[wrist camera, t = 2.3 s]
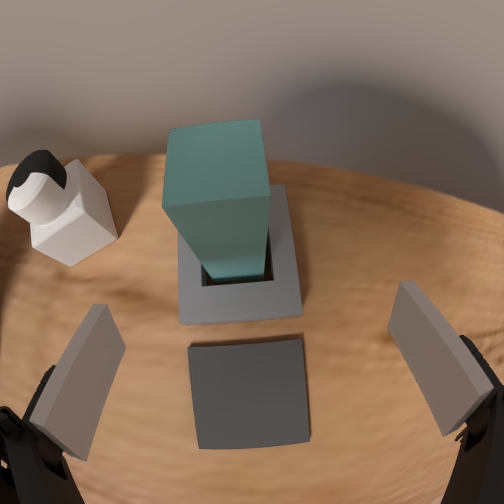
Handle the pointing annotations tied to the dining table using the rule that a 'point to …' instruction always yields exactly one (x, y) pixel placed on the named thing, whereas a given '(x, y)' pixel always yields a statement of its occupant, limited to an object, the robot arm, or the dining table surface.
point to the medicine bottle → (61, 207)
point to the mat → (249, 395)
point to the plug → (220, 196)
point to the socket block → (245, 294)
